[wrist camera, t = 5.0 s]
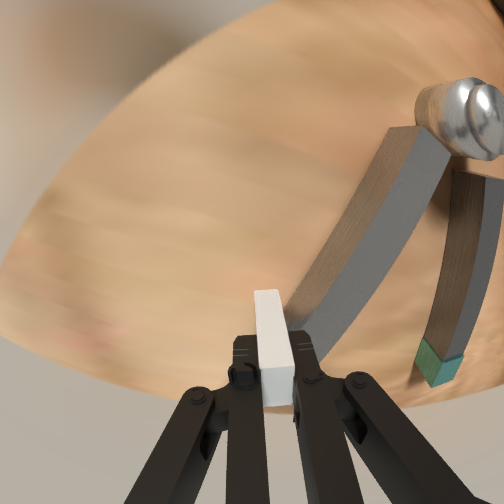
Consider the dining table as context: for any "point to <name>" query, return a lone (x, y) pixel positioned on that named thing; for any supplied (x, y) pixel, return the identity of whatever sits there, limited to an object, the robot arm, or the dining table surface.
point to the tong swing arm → (382, 221)
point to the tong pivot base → (459, 232)
